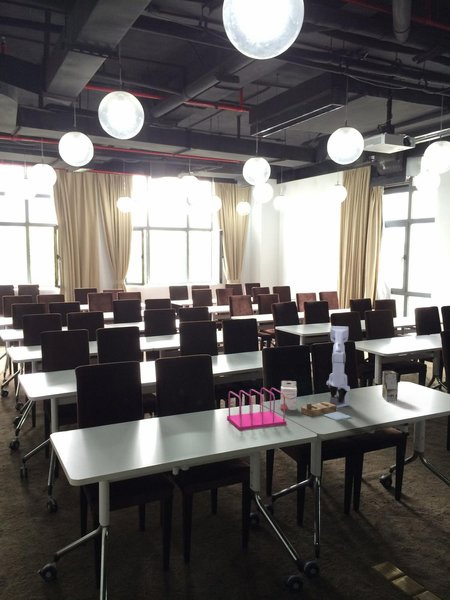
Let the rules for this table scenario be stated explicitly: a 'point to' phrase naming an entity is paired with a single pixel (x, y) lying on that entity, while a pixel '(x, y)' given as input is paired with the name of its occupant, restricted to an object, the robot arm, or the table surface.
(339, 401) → the robot arm
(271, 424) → the file sorter
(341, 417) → the rubber mat
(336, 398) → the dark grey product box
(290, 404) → the ink cartridge box
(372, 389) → the table surface
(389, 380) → the coffee box
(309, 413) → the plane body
